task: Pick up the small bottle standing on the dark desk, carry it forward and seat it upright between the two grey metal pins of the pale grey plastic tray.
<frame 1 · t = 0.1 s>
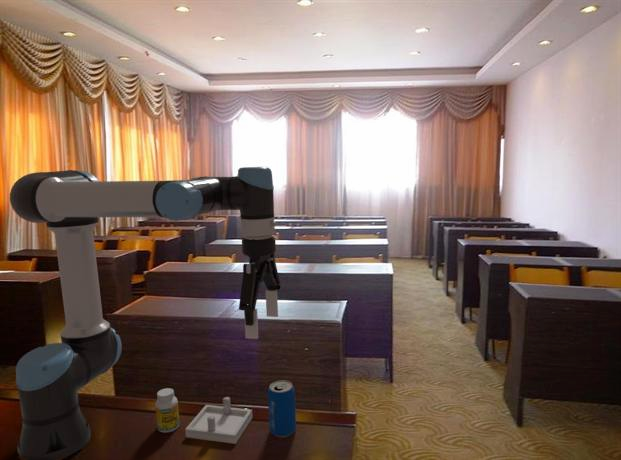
hand: (262, 326, 105), 28 cm above the table, fingers open, 13 cm apart
beverage can: (283, 431, 111), on the table
supplement bottle: (168, 427, 114), on the table
tray: (220, 427, 114), on the table
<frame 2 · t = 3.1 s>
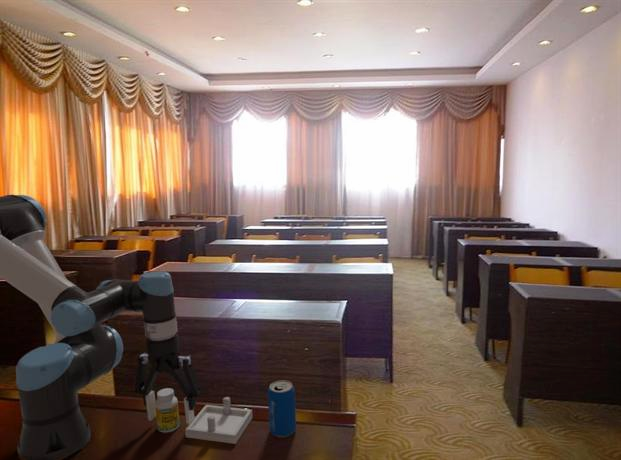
hand: (171, 419, 114), 2 cm above the table, fingers open, 10 cm apart
nothing on the table moved.
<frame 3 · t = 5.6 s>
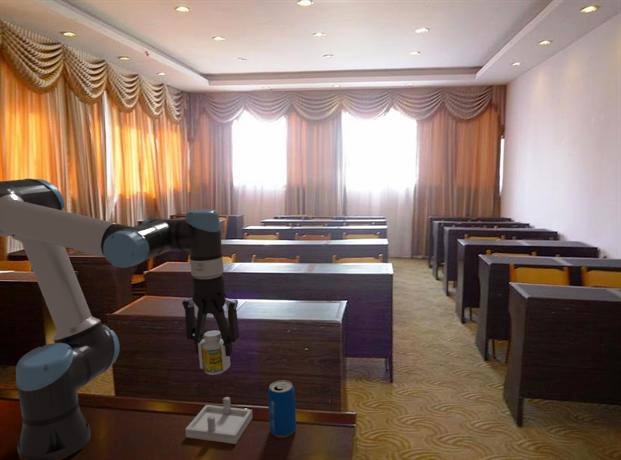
hand: (215, 366, 111), 16 cm above the table, fingers closed on supplement bottle, 5 cm apart
supplement bottle: (215, 371, 111), point 15 cm above the table, touching gripper
everything else where it was.
when the fingers open (3 cm above the table, at t = 7.7 s): supplement bottle drops 1 cm, resting on tray.
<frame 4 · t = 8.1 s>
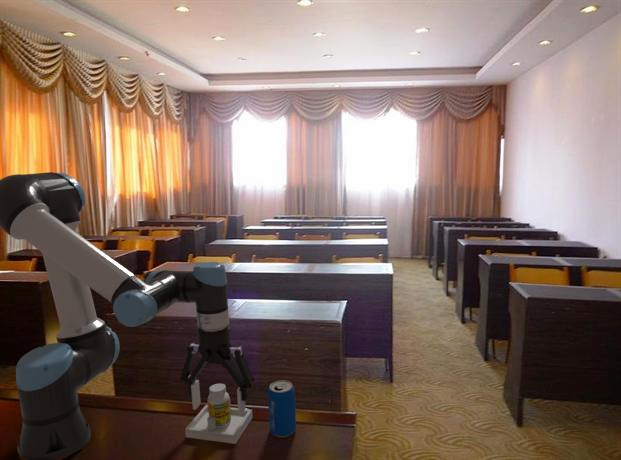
hand: (219, 409, 113), 5 cm above the table, fingers open, 11 cm apart
supplement bottle: (220, 423, 114), point 1 cm above the table, touching tray
everything else where it was.
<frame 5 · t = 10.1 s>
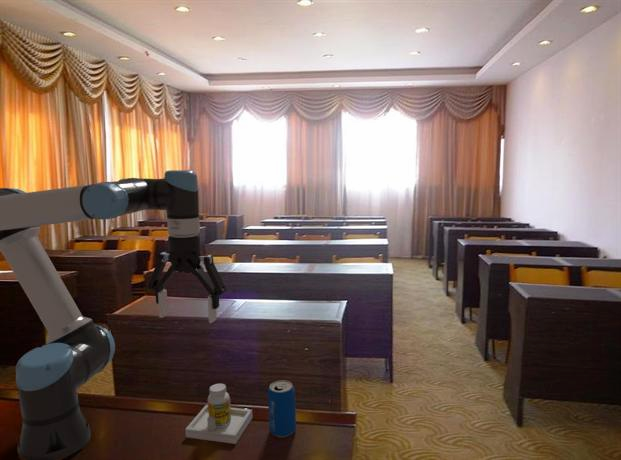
hand: (187, 318, 113), 27 cm above the table, fingers open, 13 cm apart
nothing on the table moved.
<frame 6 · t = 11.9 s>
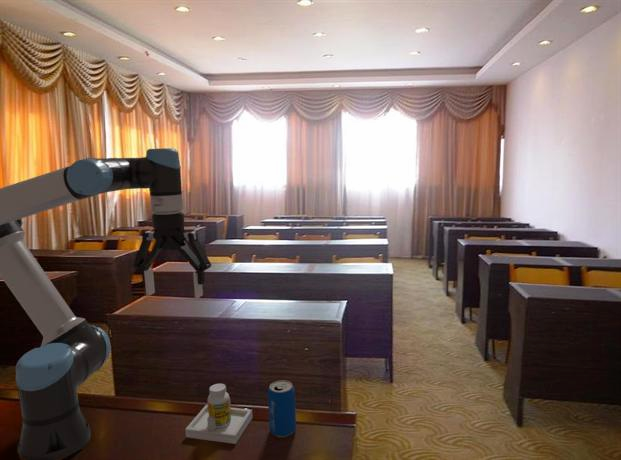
hand: (174, 295, 115), 33 cm above the table, fingers open, 13 cm apart
nothing on the table moved.
at the end: supplement bottle 0.0 cm off-centre on the tray, point 1.0 cm above the tray's base; supplement bottle tilted 0°; the gripper is holding nothing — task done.
